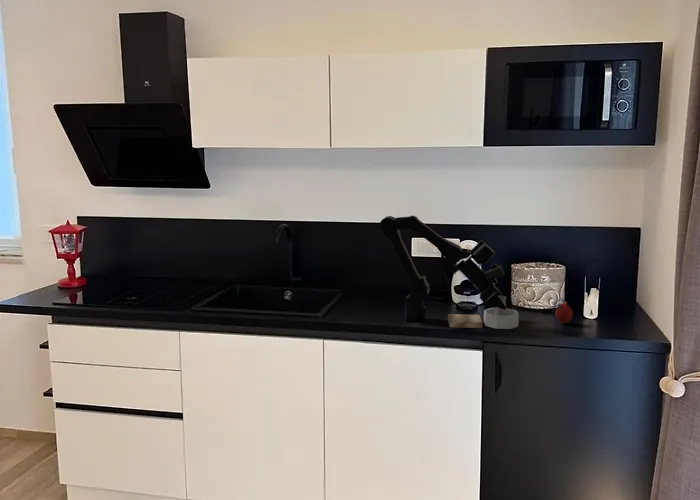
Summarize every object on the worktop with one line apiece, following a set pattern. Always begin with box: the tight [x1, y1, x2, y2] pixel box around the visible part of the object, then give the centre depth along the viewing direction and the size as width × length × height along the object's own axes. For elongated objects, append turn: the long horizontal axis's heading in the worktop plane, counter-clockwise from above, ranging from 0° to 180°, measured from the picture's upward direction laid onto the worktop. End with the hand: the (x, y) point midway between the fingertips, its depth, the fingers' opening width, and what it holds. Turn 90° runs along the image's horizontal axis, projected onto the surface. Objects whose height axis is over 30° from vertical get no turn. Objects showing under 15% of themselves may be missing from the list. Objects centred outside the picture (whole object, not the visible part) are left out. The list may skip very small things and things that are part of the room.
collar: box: [483, 307, 520, 330], centre depth 223 cm, size 11×11×4 cm
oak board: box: [447, 313, 484, 329], centre depth 224 cm, size 11×10×2 cm
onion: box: [554, 301, 574, 325], centre depth 223 cm, size 6×6×8 cm
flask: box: [494, 295, 509, 316], centre depth 223 cm, size 7×7×10 cm
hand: (505, 305), depth 222 cm, fingers open, 9 cm apart
